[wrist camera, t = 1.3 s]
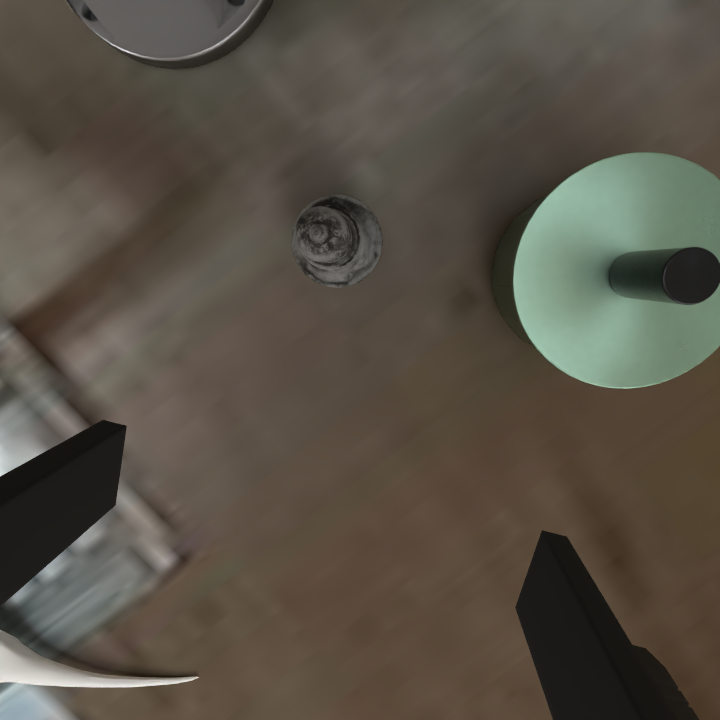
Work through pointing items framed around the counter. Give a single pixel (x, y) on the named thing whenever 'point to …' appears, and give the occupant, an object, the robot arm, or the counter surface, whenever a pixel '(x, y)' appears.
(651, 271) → the pot lid
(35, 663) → the dinosaur
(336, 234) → the dark grey tall piece
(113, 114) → the counter surface
